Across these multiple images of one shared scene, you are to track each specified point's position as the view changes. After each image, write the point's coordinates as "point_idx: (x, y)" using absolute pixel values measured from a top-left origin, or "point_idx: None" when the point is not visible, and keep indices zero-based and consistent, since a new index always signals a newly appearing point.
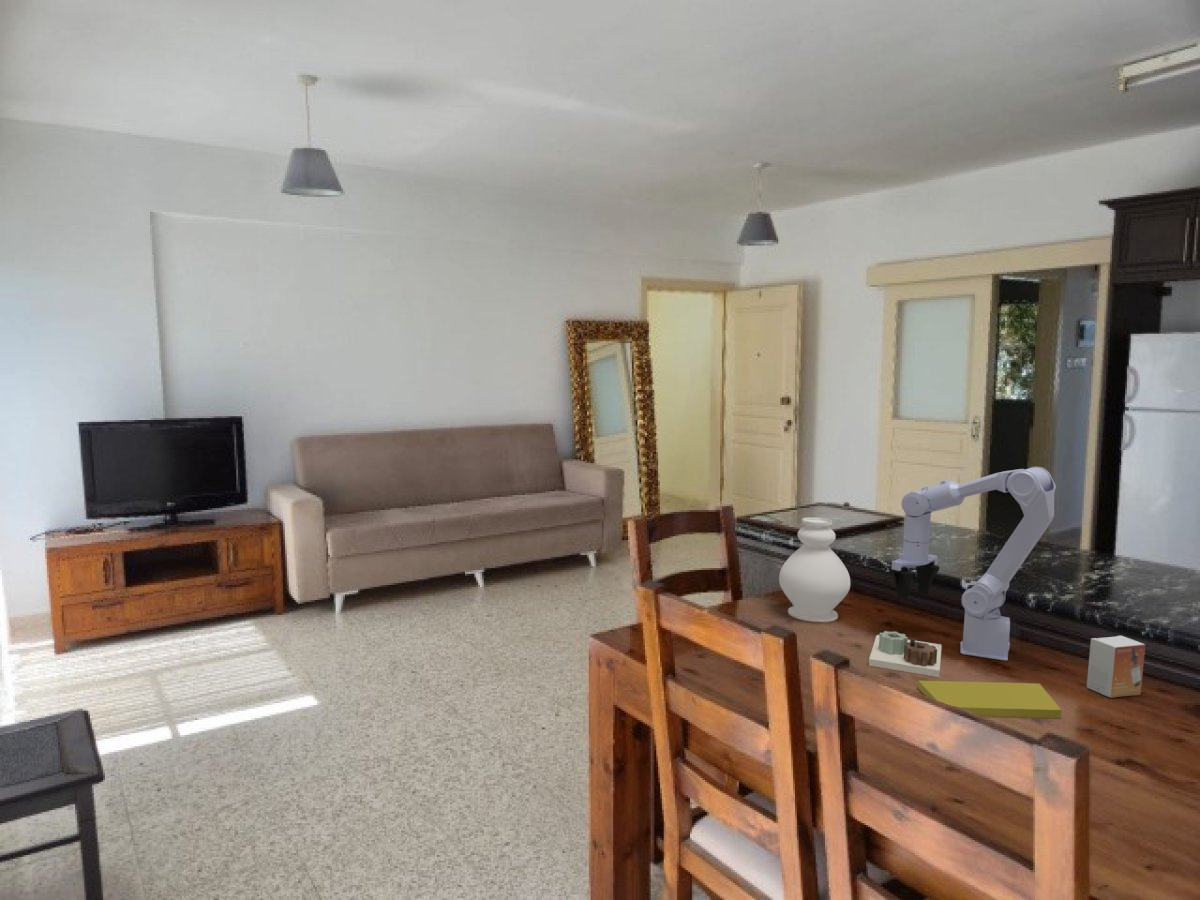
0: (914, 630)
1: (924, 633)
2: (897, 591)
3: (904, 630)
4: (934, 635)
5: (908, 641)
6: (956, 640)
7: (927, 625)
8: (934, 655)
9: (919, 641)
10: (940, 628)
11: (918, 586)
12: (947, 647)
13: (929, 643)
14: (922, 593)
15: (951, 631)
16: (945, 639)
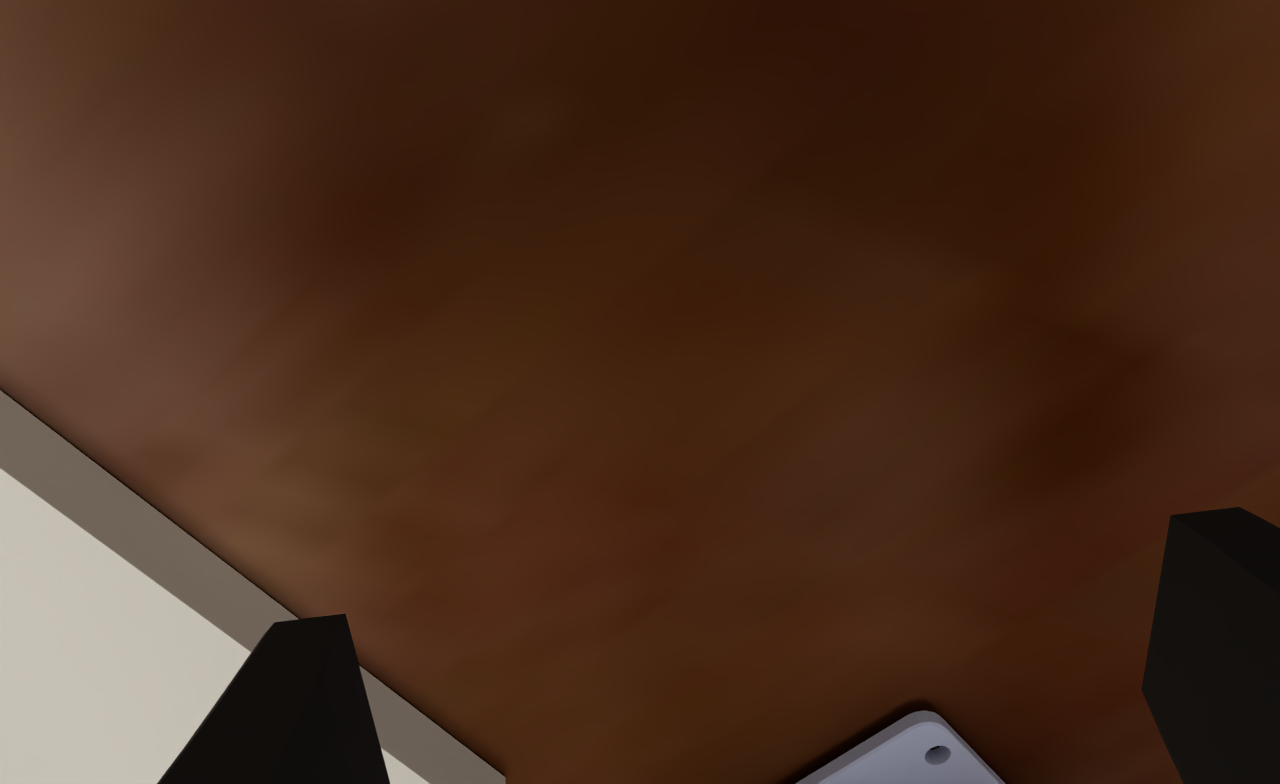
0: (841, 154)
1: (858, 306)
2: (200, 734)
3: (692, 92)
4: (910, 411)
5: (166, 669)
6: (984, 615)
7: (1249, 55)
8: None
9: None
10: (1271, 236)
11: (1275, 611)
12: (673, 726)
13: (391, 781)
14: (1162, 614)
15: (1268, 379)
16: (898, 554)
